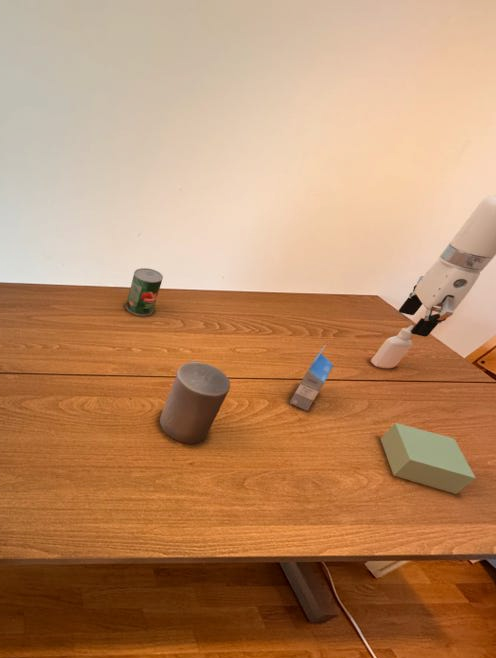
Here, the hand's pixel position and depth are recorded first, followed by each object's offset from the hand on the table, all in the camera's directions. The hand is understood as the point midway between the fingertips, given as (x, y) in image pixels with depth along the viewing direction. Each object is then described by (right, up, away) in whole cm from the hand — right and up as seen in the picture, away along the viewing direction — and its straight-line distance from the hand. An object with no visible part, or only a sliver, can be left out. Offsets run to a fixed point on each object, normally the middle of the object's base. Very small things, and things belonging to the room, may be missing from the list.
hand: (411, 323), depth 100 cm
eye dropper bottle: (0, -10, +8) cm, 13 cm away
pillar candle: (-59, -23, -12) cm, 65 cm away
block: (-15, -29, -17) cm, 37 cm away
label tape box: (-28, -18, -3) cm, 34 cm away
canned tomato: (-58, +6, +24) cm, 63 cm away
